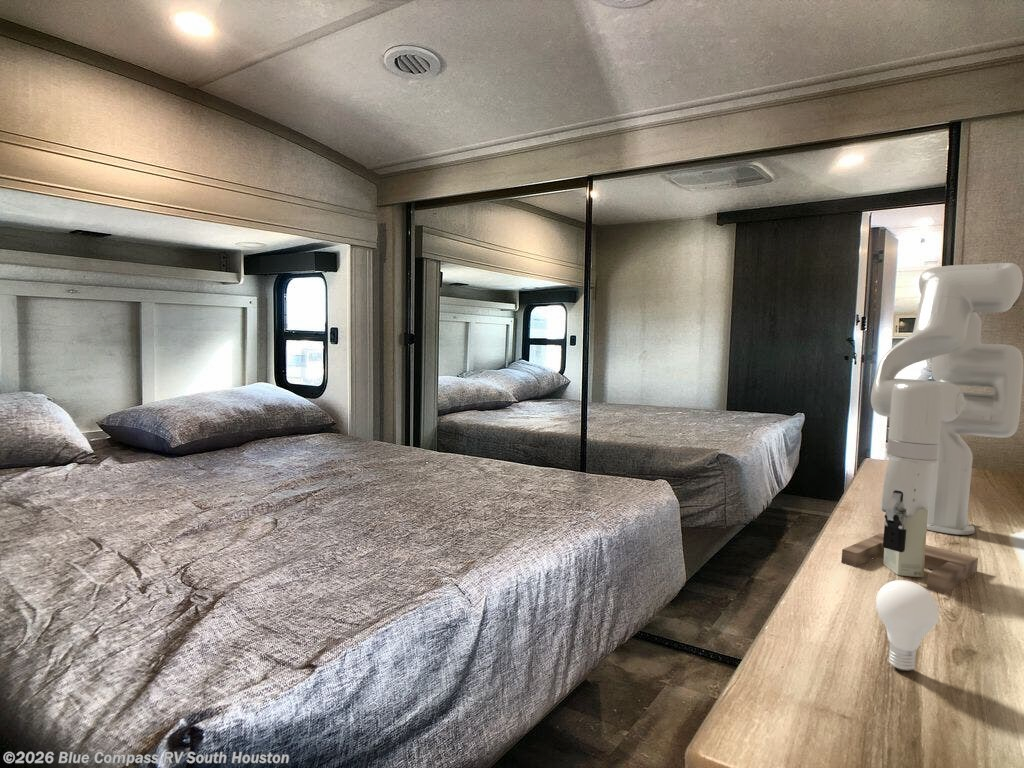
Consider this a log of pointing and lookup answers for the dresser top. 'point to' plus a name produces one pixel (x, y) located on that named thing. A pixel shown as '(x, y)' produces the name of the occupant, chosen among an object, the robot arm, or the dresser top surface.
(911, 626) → the lightbulb
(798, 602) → the dresser top surface
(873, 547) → the notched board
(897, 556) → the skincare box
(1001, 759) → the dresser top surface
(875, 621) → the dresser top surface
